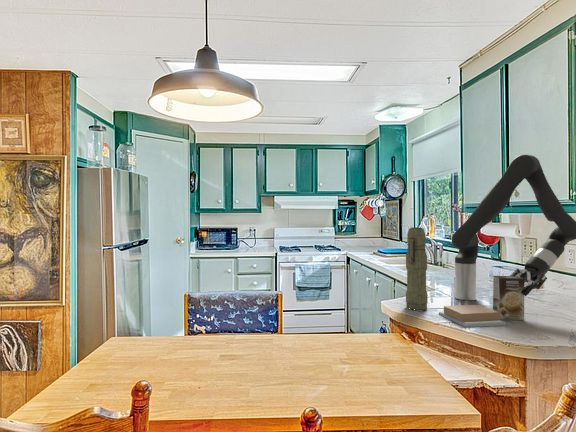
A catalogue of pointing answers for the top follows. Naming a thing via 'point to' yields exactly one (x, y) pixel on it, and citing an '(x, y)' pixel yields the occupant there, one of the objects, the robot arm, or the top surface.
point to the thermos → (416, 269)
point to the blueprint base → (472, 315)
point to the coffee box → (508, 297)
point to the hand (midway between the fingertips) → (514, 292)
